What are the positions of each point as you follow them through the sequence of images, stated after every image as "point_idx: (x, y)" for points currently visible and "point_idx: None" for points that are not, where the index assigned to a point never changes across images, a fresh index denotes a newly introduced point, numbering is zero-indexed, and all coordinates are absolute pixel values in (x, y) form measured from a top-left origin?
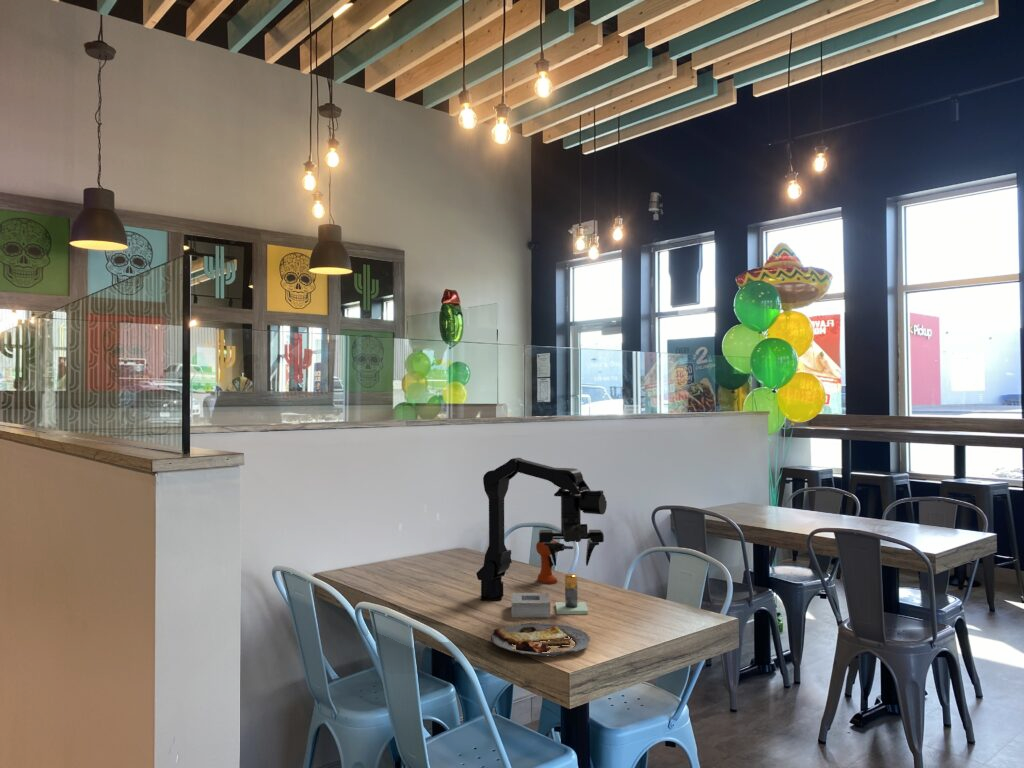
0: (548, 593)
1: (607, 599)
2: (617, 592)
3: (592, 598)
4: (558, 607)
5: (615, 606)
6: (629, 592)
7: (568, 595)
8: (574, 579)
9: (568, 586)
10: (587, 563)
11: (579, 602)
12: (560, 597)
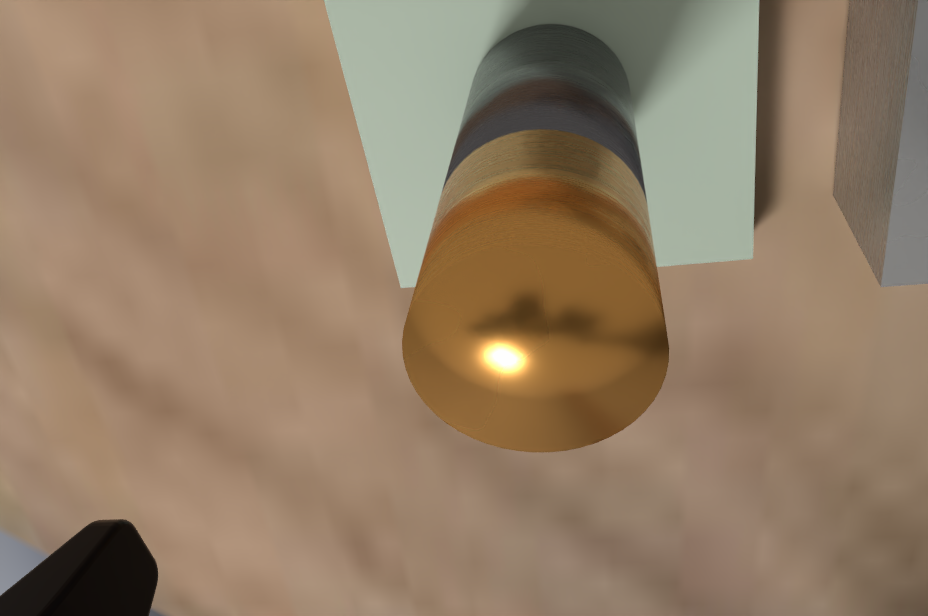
0: (892, 260)
1: (247, 450)
2: (220, 597)
3: (380, 469)
4: (728, 26)
5: (113, 264)
6: None
7: (585, 93)
8: (452, 234)
9: (583, 155)
10: (64, 554)
11: None
12: (678, 485)
